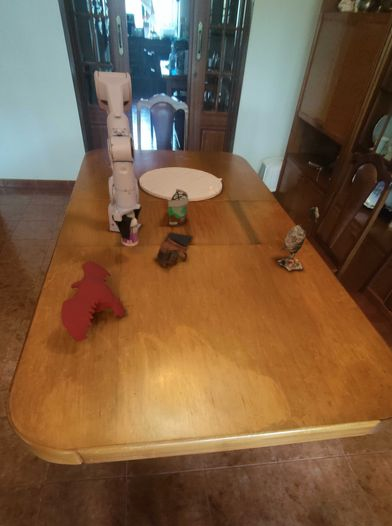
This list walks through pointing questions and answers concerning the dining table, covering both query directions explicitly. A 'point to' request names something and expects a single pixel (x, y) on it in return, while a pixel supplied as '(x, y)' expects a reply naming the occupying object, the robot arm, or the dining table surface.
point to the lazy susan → (180, 183)
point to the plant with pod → (296, 243)
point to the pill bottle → (131, 231)
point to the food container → (178, 208)
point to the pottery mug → (173, 255)
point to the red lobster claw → (89, 301)
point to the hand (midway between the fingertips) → (129, 233)
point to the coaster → (179, 238)
